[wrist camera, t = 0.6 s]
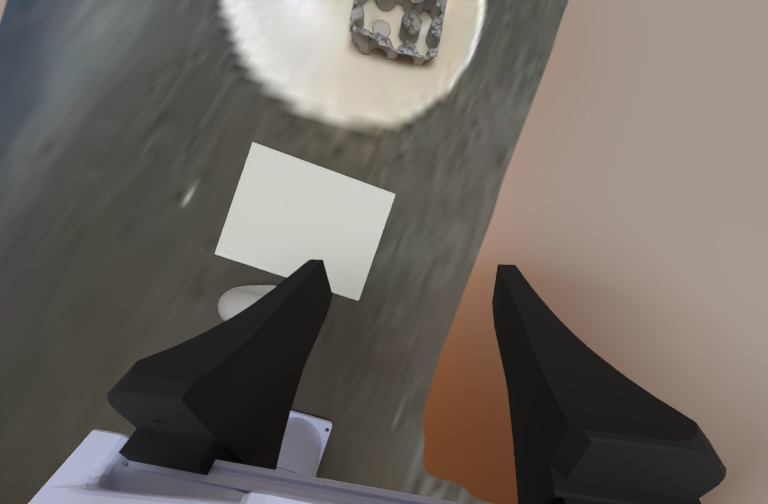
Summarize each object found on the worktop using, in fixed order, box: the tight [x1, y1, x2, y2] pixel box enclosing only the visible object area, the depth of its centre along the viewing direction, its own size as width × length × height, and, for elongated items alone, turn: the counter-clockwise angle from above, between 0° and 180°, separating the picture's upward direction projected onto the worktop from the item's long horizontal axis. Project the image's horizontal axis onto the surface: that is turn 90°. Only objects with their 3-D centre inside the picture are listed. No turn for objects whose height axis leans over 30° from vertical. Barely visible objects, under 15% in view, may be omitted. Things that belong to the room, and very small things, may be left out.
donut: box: [218, 285, 276, 321], centre depth 33 cm, size 10×4×10 cm, turn 84°
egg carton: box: [349, 0, 447, 66], centre depth 36 cm, size 11×8×4 cm
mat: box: [215, 142, 396, 301], centre depth 37 cm, size 14×18×1 cm
